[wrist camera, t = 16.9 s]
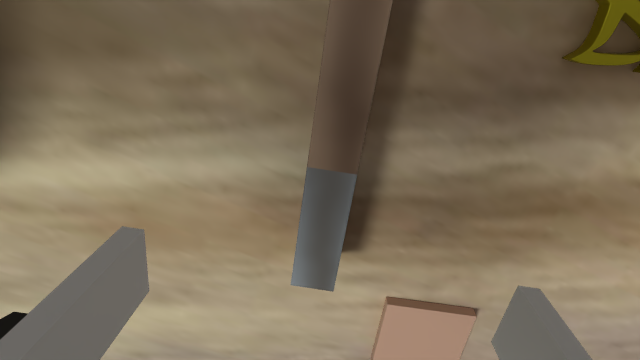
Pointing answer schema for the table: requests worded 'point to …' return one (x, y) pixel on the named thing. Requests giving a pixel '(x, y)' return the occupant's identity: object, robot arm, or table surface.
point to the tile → (422, 331)
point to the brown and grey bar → (338, 135)
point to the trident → (609, 34)
